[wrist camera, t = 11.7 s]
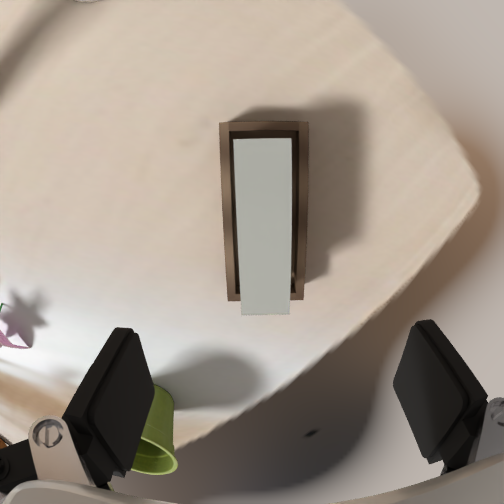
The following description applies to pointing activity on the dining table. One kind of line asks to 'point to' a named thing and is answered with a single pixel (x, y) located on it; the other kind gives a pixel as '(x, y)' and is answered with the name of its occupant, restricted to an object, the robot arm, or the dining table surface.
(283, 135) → the brown open box
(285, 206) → the pale grey block
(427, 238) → the dining table surface
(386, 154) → the dining table surface
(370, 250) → the dining table surface
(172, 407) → the plant pot
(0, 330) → the lily
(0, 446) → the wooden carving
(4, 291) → the dining table surface
